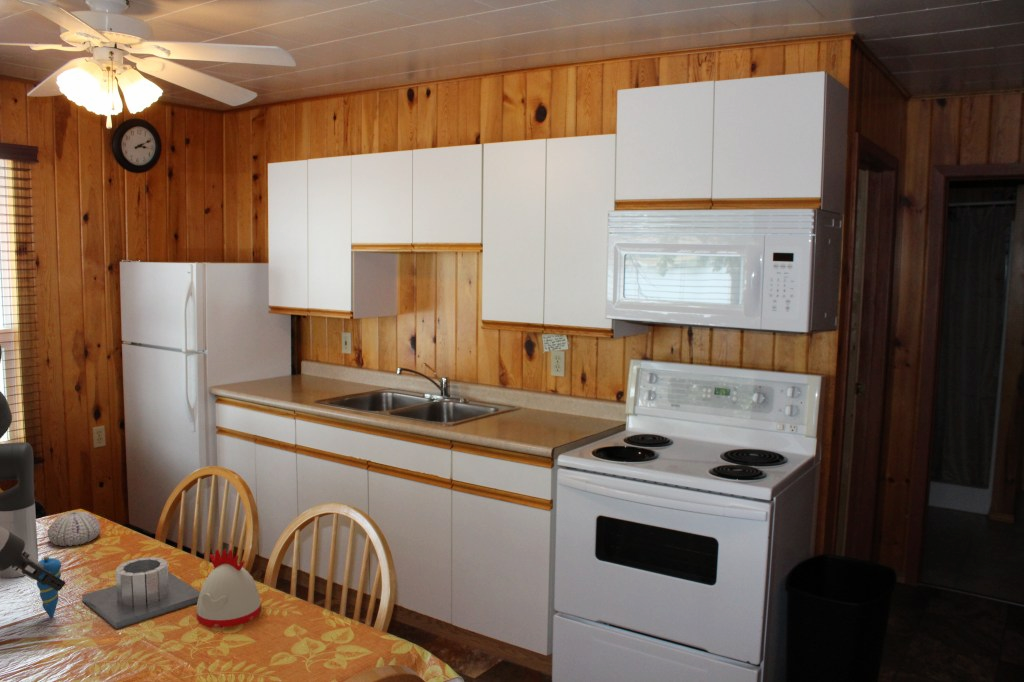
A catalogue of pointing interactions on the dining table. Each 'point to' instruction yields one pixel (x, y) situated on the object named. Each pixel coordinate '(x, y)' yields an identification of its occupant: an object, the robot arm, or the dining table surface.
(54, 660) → the dining table surface
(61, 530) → the sea urchin shell
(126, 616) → the tube on square plate
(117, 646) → the dining table surface
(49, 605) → the ornament
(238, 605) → the kitchen timer
